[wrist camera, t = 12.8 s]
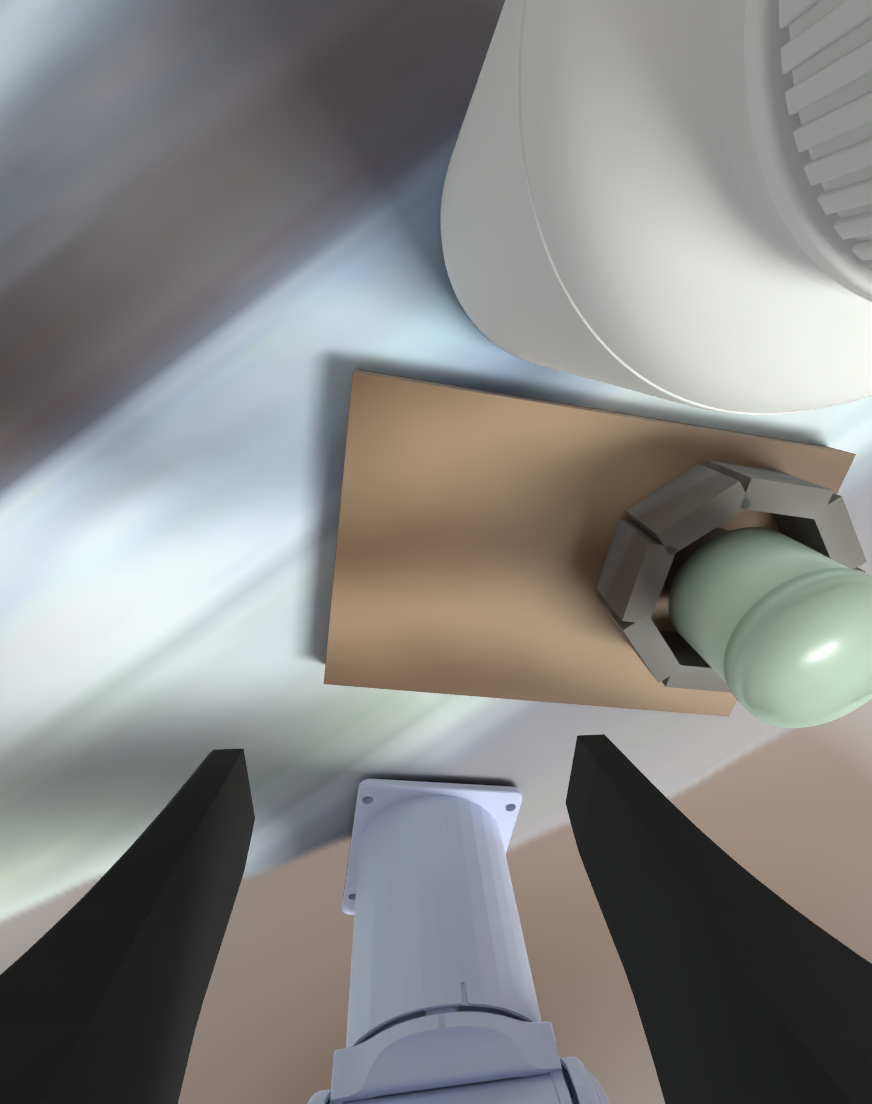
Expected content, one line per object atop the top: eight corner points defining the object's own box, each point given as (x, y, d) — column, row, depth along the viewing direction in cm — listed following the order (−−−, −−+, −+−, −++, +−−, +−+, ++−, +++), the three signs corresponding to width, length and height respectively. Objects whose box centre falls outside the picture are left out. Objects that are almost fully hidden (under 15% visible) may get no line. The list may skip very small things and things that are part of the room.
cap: (804, 503, 17) (920, 552, 13) (807, 626, 19) (907, 698, 15) (656, 552, 17) (729, 612, 13) (674, 667, 19) (742, 747, 15)
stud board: (713, 698, 24) (764, 757, 21) (327, 665, 21) (315, 726, 18) (829, 447, 19) (919, 471, 16) (355, 369, 17) (346, 378, 14)
